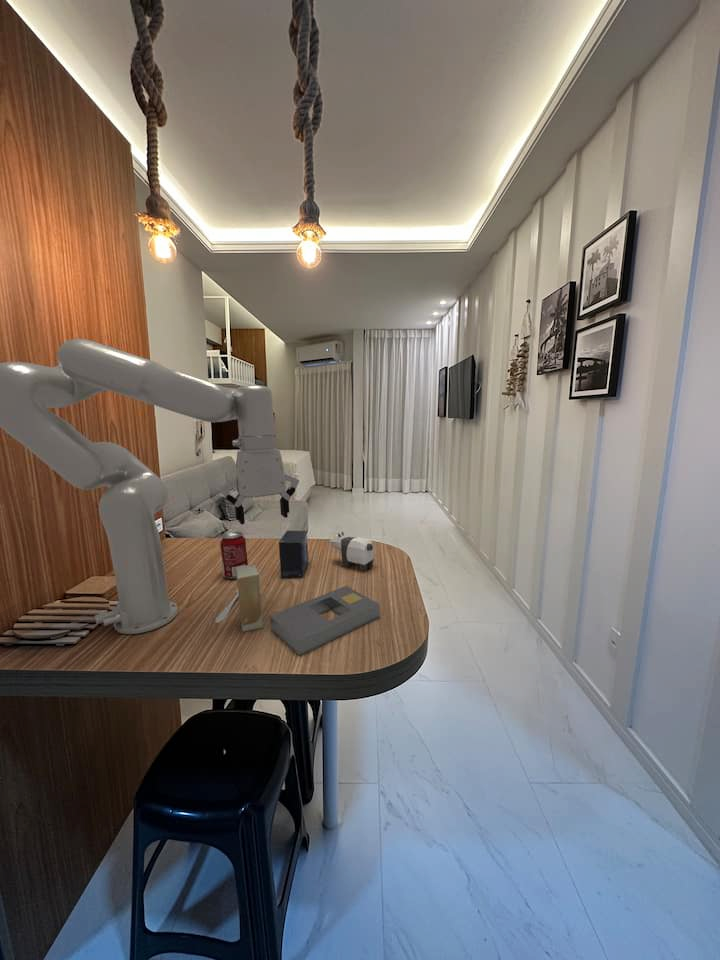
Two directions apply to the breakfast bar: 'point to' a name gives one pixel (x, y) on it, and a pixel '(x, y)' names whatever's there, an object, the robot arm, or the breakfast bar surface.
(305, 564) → the small box
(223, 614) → the spoon
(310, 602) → the grey slotted base block
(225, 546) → the soda can
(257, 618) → the skincare box
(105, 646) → the breakfast bar surface
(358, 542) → the giant panda
